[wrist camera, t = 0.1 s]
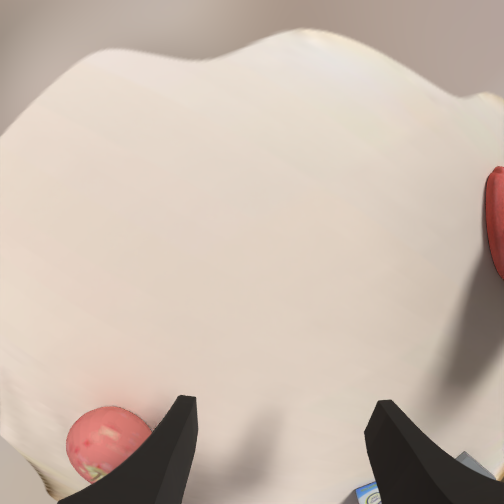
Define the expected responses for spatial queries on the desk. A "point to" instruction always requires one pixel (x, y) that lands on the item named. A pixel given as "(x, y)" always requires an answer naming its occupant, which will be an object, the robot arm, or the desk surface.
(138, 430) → the apple
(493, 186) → the stacking bear
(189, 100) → the desk surface
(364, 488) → the medicine box
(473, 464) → the mat
